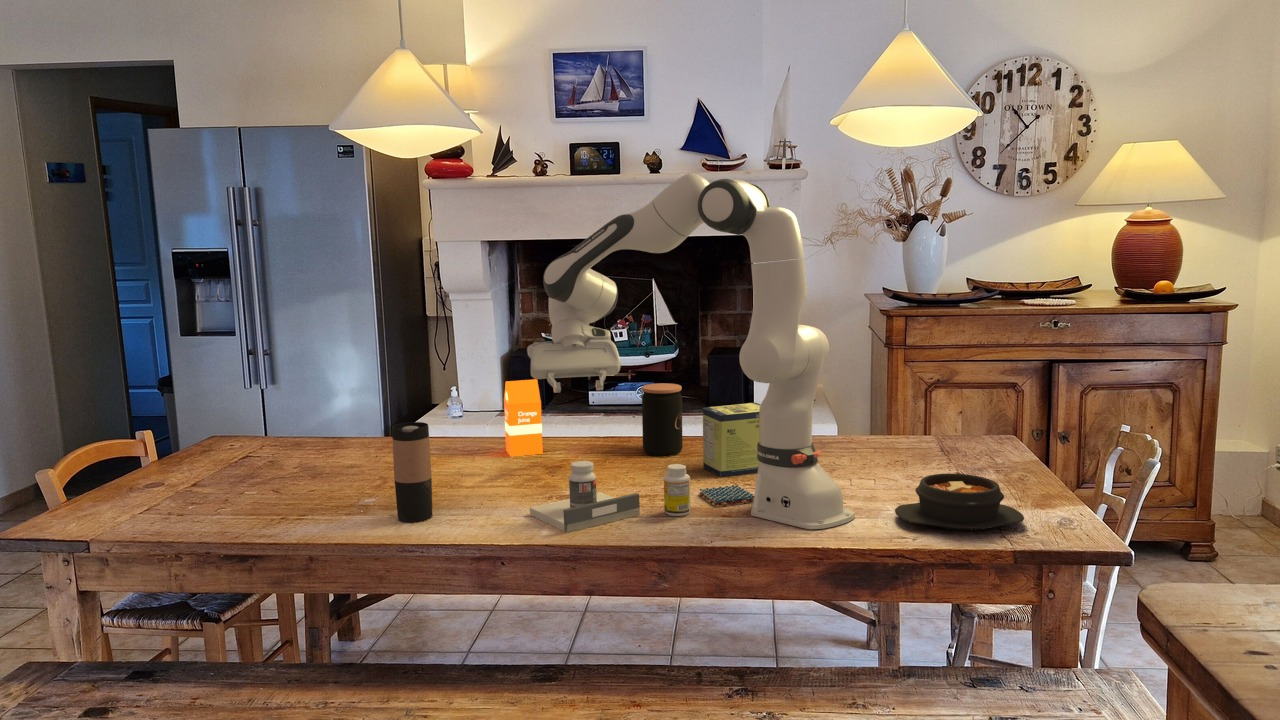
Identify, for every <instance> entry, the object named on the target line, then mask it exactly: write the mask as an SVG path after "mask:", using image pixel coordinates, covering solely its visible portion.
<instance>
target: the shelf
mask: <svg viewBox="0 0 1280 720" xmlns="http://www.w3.org/2000/svg"><path fill="white" fill-rule="evenodd" d="M596 494H597V502H595V503H590V504H586V505H581V506H577V507H573V508H570V498H567V499H562V500H557V501H553V502H550V503H549V502H548V503H545V504H540V505H536V506H531V507H529V515H530V516H532V517H534V518H536V519H538V520H540V521H542V522H544V523H546V524H548V523H549V525H550V524H551V525H550V526H552V525H553V527H555V528H557V529H558V530H561V531H563V532H565V533H567V532H568V533H571V532H576V531H580V530H584V529H588V528H592V526H593V527H595V525H597V526H600V525H599V524H601V525H604V524H603V523H605V524H609V523H612V521H613V522H615V520H617V521H620V519H621V520H624V519H629V518H632V517H637V516H640V515H641V513H640V511H641V510H640V508H641V507H640V494H639V493H636V492H635V493H631V494H626V495H621V496H617V497H614V496H612V495H608V494H606V493H603V492H601V491H599V492H596ZM628 517H629V518H628ZM608 522H609V523H608Z"/></svg>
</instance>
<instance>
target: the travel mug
mask: <svg viewBox="0 0 1280 720" xmlns="http://www.w3.org/2000/svg"><path fill="white" fill-rule="evenodd" d="M391 436H392V437H391V438H392V454H393V455H392V456H393V477H394V478H393V480H394V490H395V491H394V492H395V499H396V500H395V501H396V510H397V511H396V513H397V519H398V521H399V522H401V523H405V522H406V523H408V524H409V523H410V524H413V523H414V522H416V523H421V522H420V521H422V522H425V520H426V521H428V520H427V519H429V520H430V519H431V518H432V517H433V482H432V481H433V479H432V475H433V474H432V463H431V445H430V429H429V424H428V423H426V422H422V421H411V422H401V423H396V424H394V425H392V427H391Z"/></svg>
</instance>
